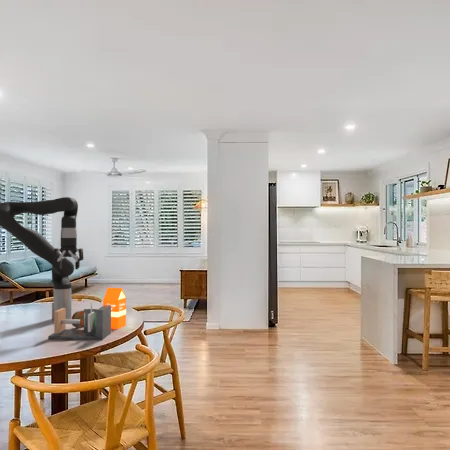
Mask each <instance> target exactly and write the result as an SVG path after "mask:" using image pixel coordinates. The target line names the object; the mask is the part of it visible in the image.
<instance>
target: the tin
mask: <svg viewBox="0 0 450 450" xmlns="http://www.w3.org/2000/svg"><path fill="white" fill-rule="evenodd" d="M71 319H79V320H80V324H71V325H72V326H73V327H74V328H77V329H81V328H84V309H82V310H79V311H76V312H74V313H73V315H71Z"/></svg>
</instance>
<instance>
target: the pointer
mask: <svg viewBox="0 0 450 450" xmlns="http://www.w3.org/2000/svg"><path fill="white" fill-rule="evenodd" d="M90 309H91V313H90V314H88V332H91V331H92V330H94V329H95V312H92V309H93V302H90Z"/></svg>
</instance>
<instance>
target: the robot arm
mask: <svg viewBox="0 0 450 450" xmlns="http://www.w3.org/2000/svg"><path fill="white" fill-rule="evenodd" d="M78 208H79V204H78V201H77V200H76V199H75V198H73V197H69V196H65V197H59V198H55V199H47V200H40V201H38V200H37V201H3V202H0V227H1V228H2V229H4V230H6V231H7V232H8V233H10V234H11V235H12V236H13V237H15V239H17V240H18V241H19V242H21V243H22V244H23V245H24V246H25V247H26V248H27V249H28V250H29V251H30V252H32V253H33V254H34V255H36V256H38V257H39V258H41V259H43V260H44V261H46V262H47V263H49V264H50V265H51V282H52V286H53V302H51V320H52V321H54V312H55V311H57V310H59V309H61V308H66V319H72V282H71V281H70V279H69V276H71V275H72V274H73V273H74V271H75V270H79V268H80V266H81V265H80V262H81V261H83V260H84V248H82V247H81V248H78V247H77V245H78V243H77V241H78V239H77V236H78V235H77V234H78V233H77V232H78V231H77V216H78V210H79V209H78ZM60 212H61V213H62V212H63V216H62V217H61V219H60V220H61V221H60V223H61V225H60V226H61V229H60V248H59V247H58V248H57V247H56V248H55V247H54V246H53V245H52V244H51V243H50V242H49V241H48V240H47V239H46V238H45V237H44V236H43V235H42V234H40V232H38V231H36V230H34V229H32V228H31V229H30V228H28V227H25V226H23V225H22V224H21V223H19V221H17V220H16V218H15V217H16V216H18V215H21V214H32V215H37V216H38V215H39V216H45V215H52V214H53V215H54V214H56V213H60ZM77 253H78V254H77ZM68 258H72V259H73V260H74V261H75V262H74V263H75V265H74V263H73V262H72V261H71V260H70V259H68Z"/></svg>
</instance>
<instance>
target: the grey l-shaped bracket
mask: <svg viewBox="0 0 450 450" xmlns="http://www.w3.org/2000/svg"><path fill="white" fill-rule="evenodd" d="M83 310H84V327H83V329H70V328H69V329H67V328H65V330H63V331H61V332H60V333H54V332H52V333H51V334H50V335H48V338H47V339H48V340H51V341H52V340H54V341H56V340H57V341H58V340H59V341H60V340H61V341H62V340H64V341H69V340H71V341H72V340H73V341H74V340H75V341H78V340H79V341H81V340H82V341H85V340H86V341H89V340H90V341H103V340H105V339H106V338H107V337H108V336H110V335H111V334H112V329H111V305H104V306H103V305H102V306H101V307H99V308H92V312H95V329H94V330H92V331H91V332H88V314H90V313H91V308H84V309H83Z"/></svg>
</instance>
